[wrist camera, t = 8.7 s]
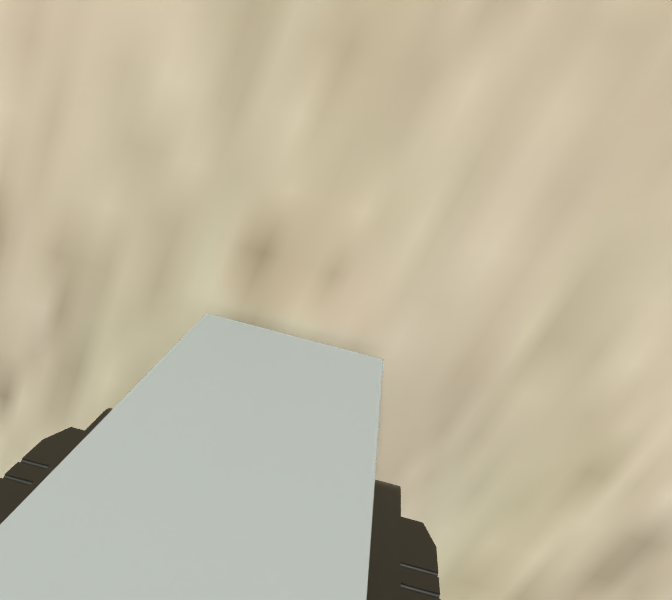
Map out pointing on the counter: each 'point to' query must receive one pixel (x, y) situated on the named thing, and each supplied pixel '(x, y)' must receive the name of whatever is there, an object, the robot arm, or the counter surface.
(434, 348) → the counter surface
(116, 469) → the mallet tool
